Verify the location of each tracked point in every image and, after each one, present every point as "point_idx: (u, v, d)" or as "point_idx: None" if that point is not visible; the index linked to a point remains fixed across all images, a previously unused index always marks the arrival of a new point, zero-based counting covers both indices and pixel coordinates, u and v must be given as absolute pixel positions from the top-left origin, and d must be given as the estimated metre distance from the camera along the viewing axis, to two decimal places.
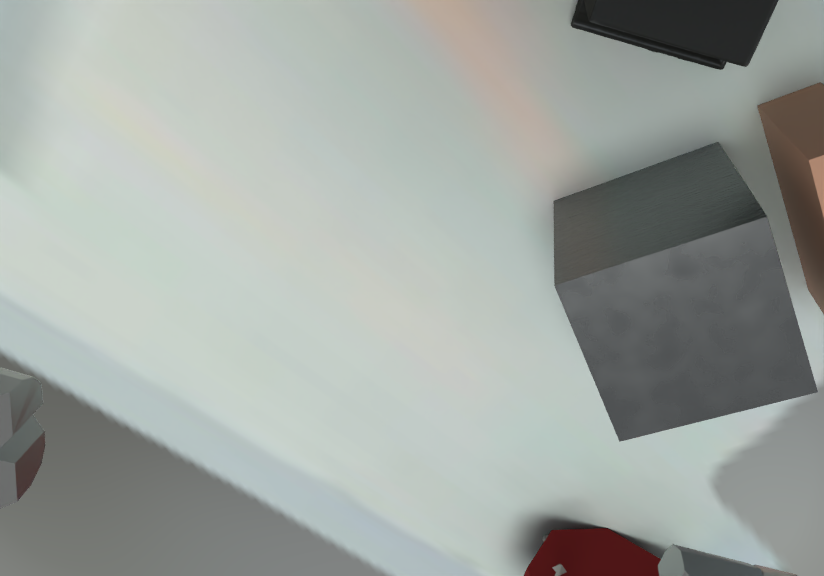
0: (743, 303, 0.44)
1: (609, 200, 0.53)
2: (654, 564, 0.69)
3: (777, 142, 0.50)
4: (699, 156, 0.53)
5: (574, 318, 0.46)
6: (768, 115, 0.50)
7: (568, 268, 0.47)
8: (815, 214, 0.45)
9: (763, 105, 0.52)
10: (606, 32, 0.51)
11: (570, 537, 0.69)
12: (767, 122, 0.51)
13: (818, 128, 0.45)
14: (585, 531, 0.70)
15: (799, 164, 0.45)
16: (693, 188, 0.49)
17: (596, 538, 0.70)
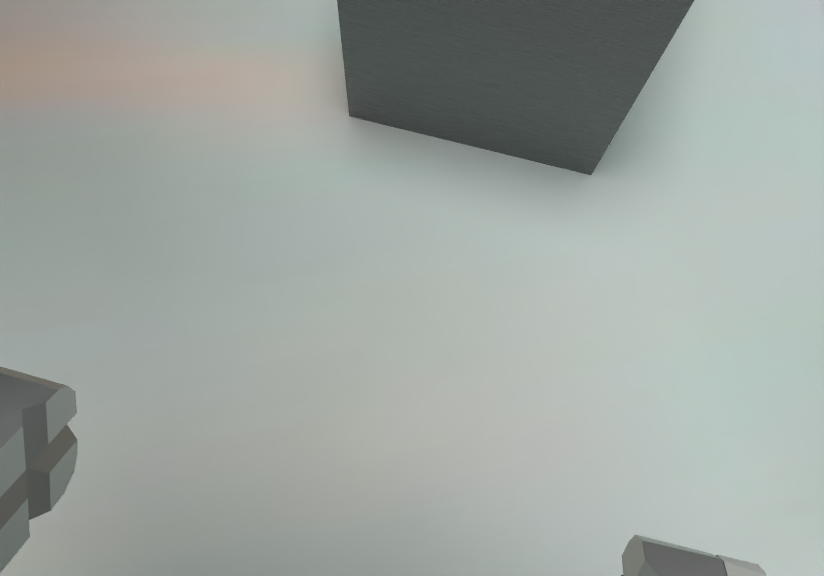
0: None
1: None
2: None
3: None
4: None
5: None
6: None
7: None
8: None
9: None
10: None
11: None
12: None
13: None
14: None
15: None
16: None
17: None
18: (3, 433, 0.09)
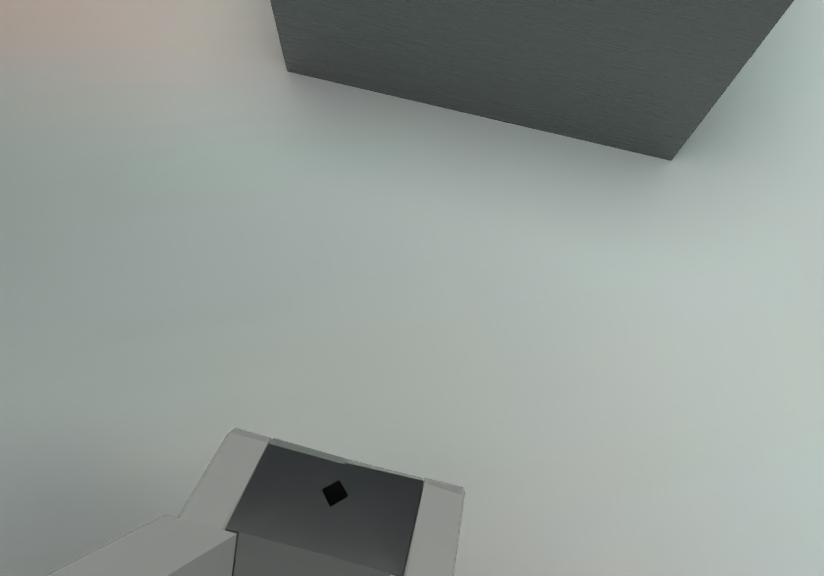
0: None
1: None
2: None
3: None
4: None
5: None
6: None
7: None
8: None
9: None
10: None
11: None
12: None
13: None
14: None
15: None
16: None
17: None
18: (315, 516, 0.08)
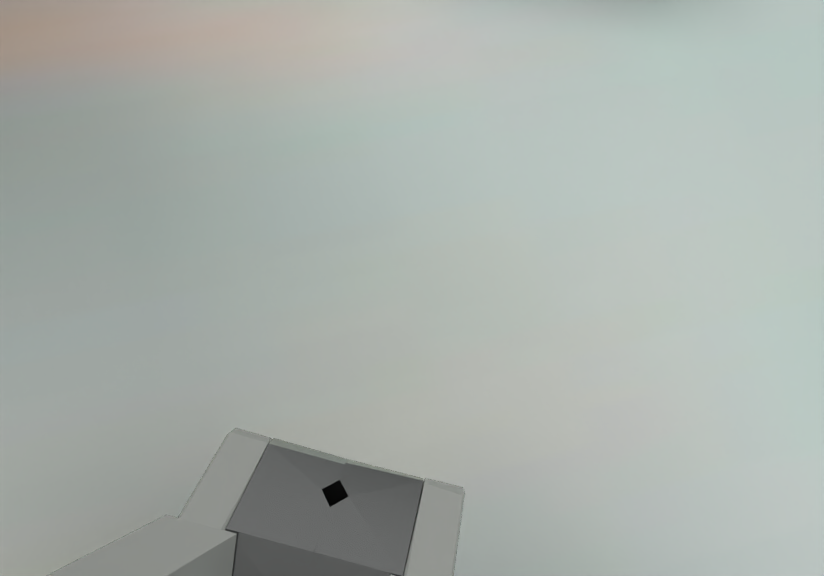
0: None
1: None
2: None
3: None
4: None
5: None
6: None
7: None
8: None
9: None
10: None
11: None
12: None
13: None
14: None
15: None
16: None
17: None
18: (315, 516, 0.08)
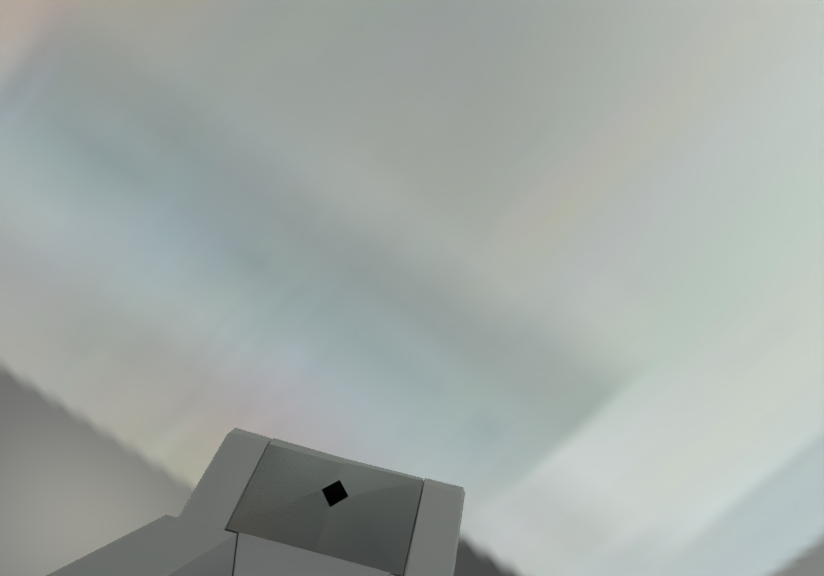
0: None
1: None
2: None
3: None
4: None
5: None
6: None
7: None
8: None
9: None
10: None
11: None
12: None
13: None
14: None
15: None
16: None
17: None
18: (315, 516, 0.08)
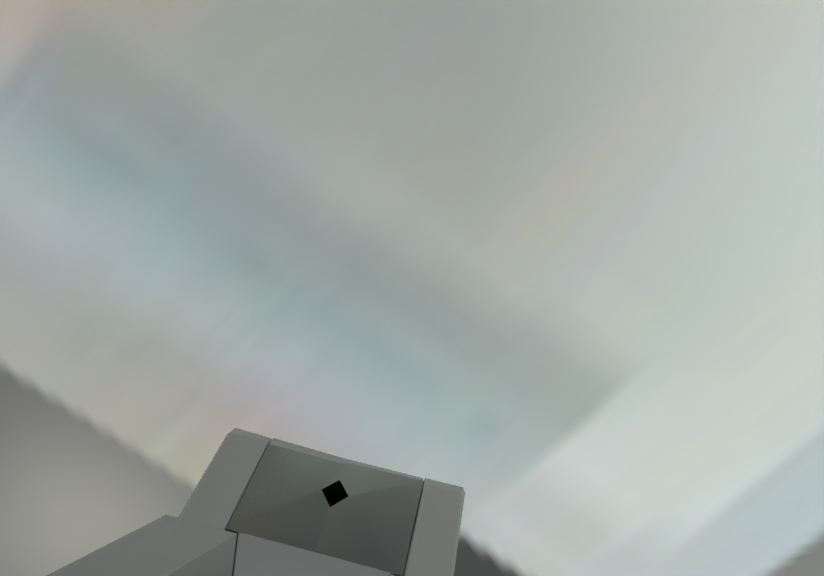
0: None
1: None
2: None
3: None
4: None
5: None
6: None
7: None
8: None
9: None
10: None
11: None
12: None
13: None
14: None
15: None
16: None
17: None
18: (315, 516, 0.08)
